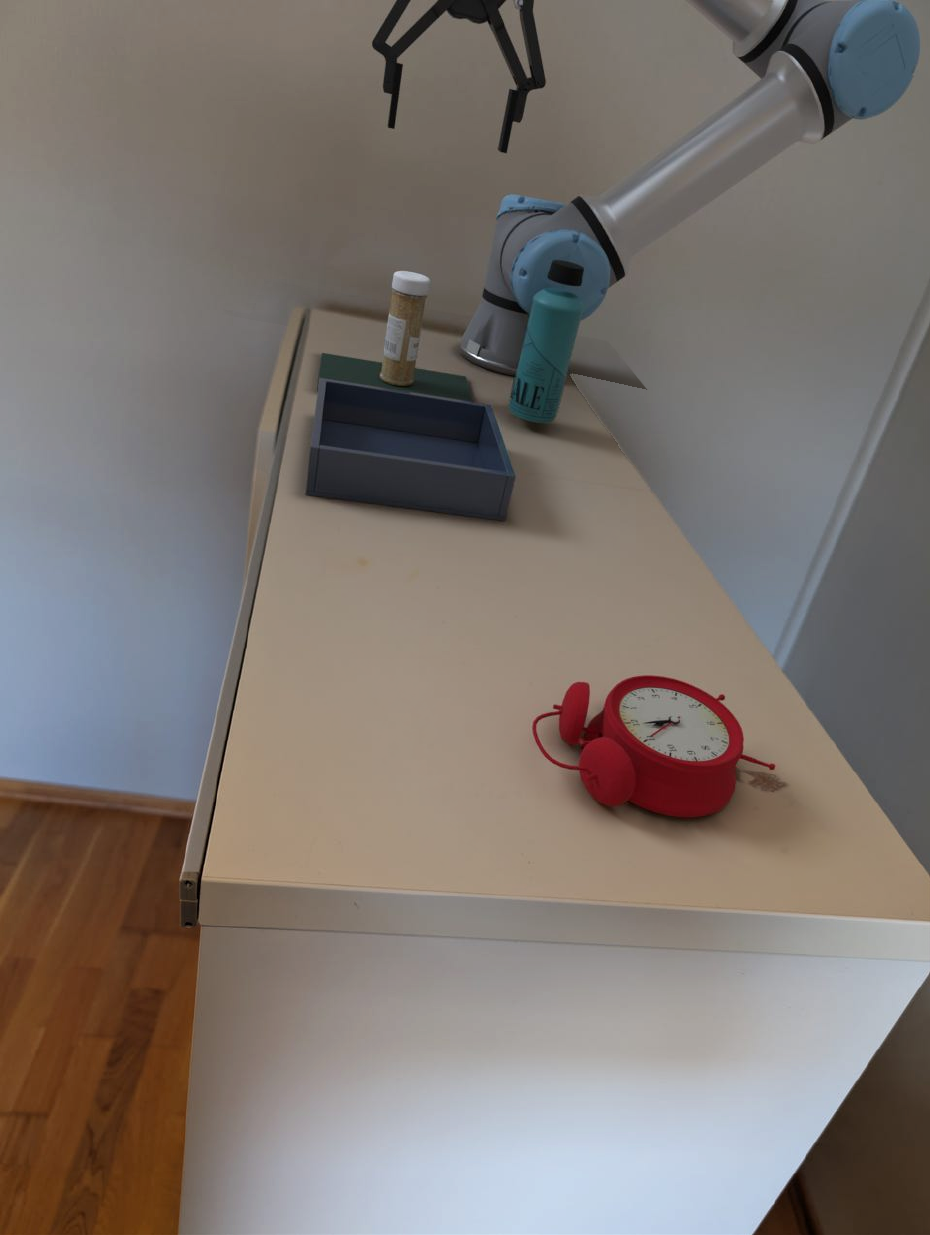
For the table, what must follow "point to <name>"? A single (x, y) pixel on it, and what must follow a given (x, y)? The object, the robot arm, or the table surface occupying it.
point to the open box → (408, 451)
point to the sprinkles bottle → (404, 327)
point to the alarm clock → (654, 745)
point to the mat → (370, 375)
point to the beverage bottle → (547, 346)
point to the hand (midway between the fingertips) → (447, 140)
